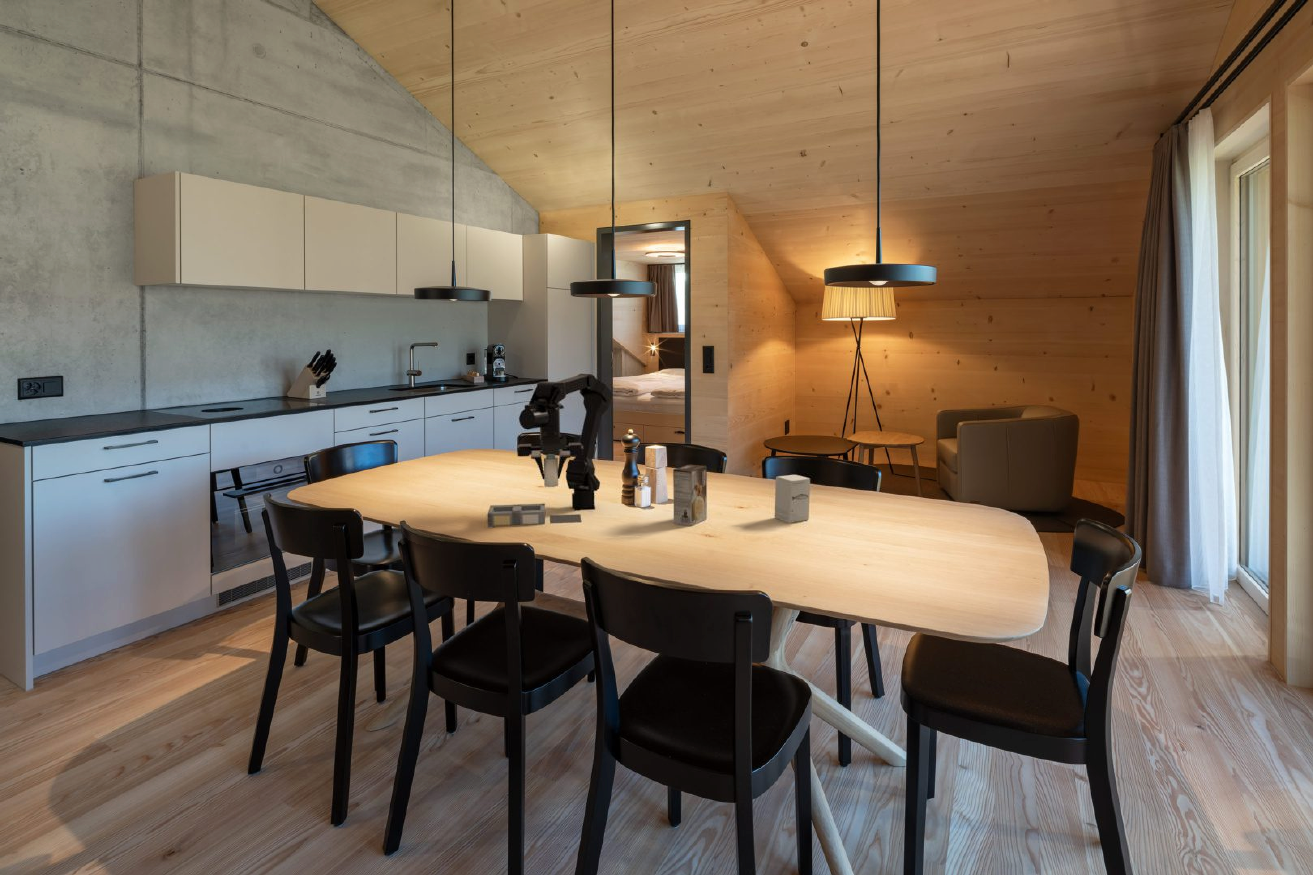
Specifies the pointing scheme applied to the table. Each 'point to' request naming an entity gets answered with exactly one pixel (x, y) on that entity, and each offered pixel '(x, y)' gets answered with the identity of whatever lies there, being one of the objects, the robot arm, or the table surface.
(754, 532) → the table surface
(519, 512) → the socket block
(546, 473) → the beige and green cylinder
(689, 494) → the coffee box
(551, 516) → the mat
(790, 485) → the supplement box
